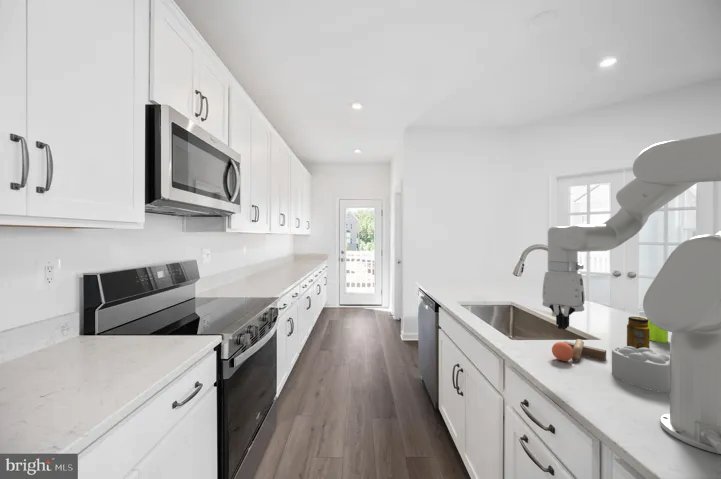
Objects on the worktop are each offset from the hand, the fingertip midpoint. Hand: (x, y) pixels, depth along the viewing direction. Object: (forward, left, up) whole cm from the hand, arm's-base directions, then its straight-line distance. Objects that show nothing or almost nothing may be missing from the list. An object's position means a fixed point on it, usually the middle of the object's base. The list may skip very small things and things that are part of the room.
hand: (562, 328), depth 94 cm
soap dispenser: (+49, -39, -14) cm, 64 cm away
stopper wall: (+20, -9, -13) cm, 25 cm away
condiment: (+30, -27, -14) cm, 43 cm away
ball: (+11, -2, -10) cm, 15 cm away
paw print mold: (+3, -19, -14) cm, 24 cm away
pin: (+12, -5, -12) cm, 18 cm away
